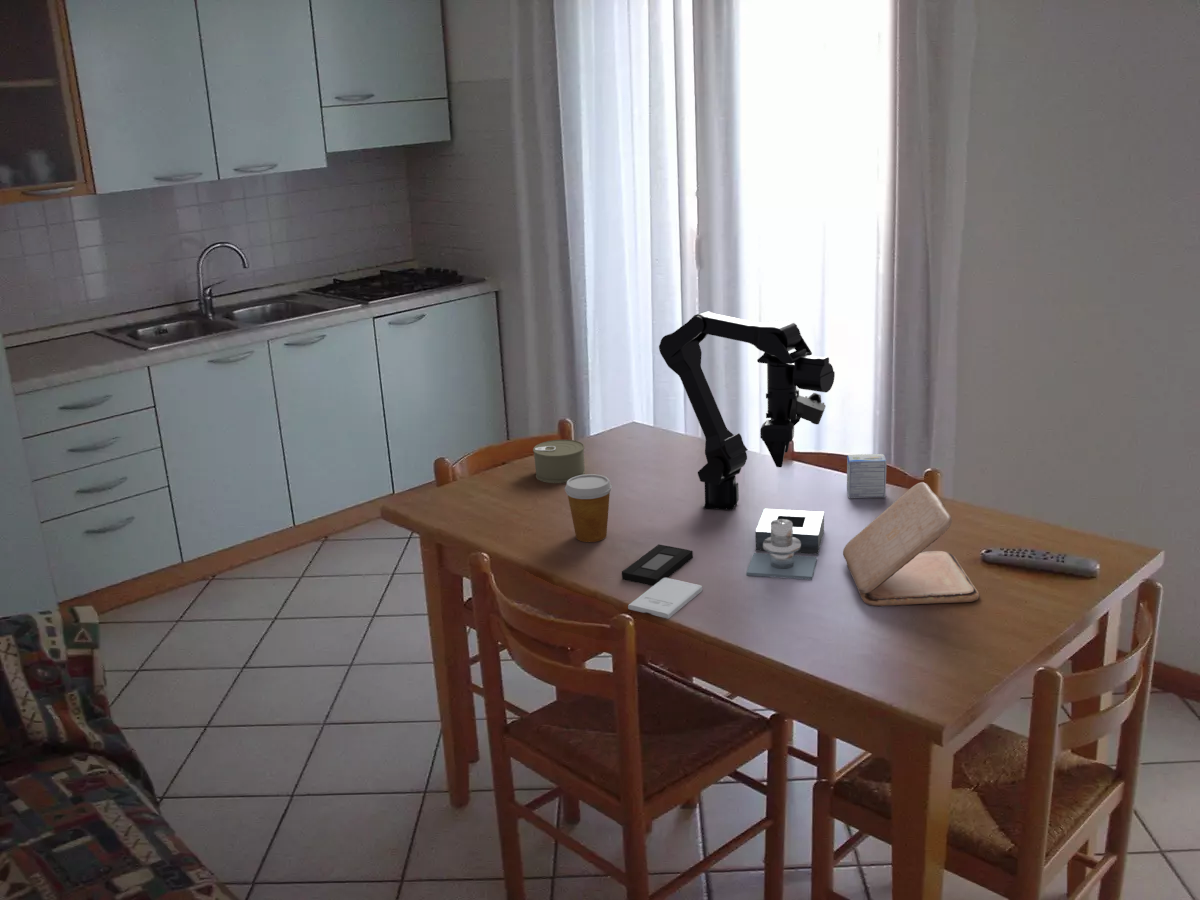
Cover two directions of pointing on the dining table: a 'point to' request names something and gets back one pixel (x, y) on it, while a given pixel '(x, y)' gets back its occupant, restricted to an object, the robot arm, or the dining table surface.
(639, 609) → the external hard drive
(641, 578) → the vhs tape
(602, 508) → the disposable coffee cup
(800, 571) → the mat
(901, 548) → the case
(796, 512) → the frame
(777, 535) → the silver door knob
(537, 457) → the can
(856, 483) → the medicine box
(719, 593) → the dining table surface
